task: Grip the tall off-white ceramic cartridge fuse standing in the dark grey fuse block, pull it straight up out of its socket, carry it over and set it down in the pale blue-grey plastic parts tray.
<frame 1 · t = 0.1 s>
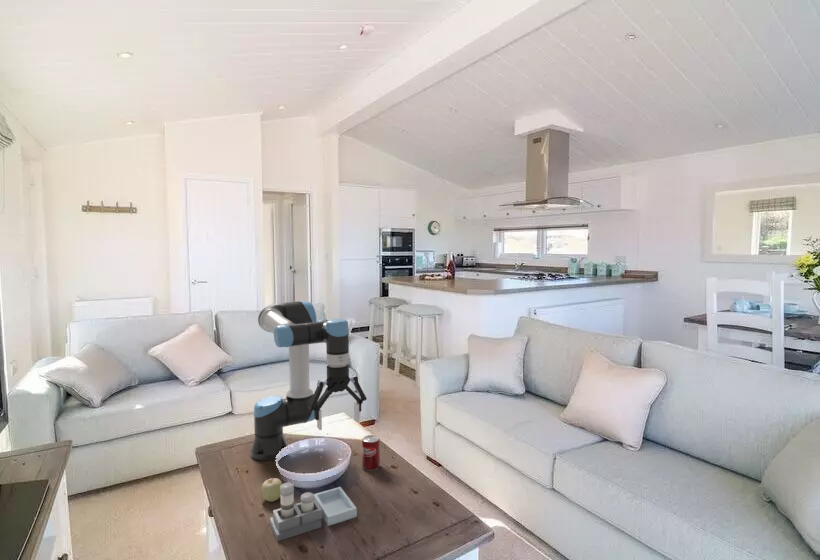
hand: (338, 424, 157), 28 cm above the table, fingers open, 13 cm apart
soda can: (371, 467, 183), on the table
fuse: (287, 521, 145), point 2 cm above the table, touching fuse block
tray: (334, 509, 155), on the table
fuse block: (295, 525, 146), on the table
fruit: (272, 499, 161), on the table
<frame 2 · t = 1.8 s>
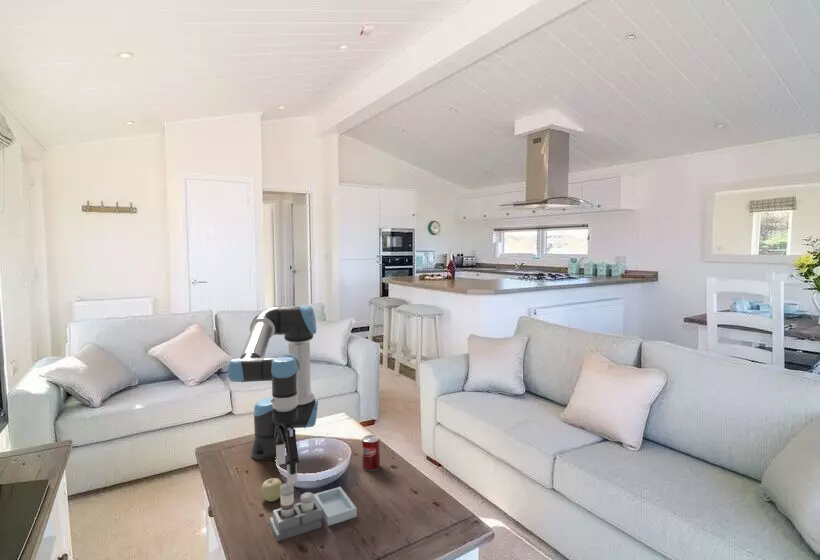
hand: (286, 473, 143), 18 cm above the table, fingers open, 13 cm apart
nothing on the table moved.
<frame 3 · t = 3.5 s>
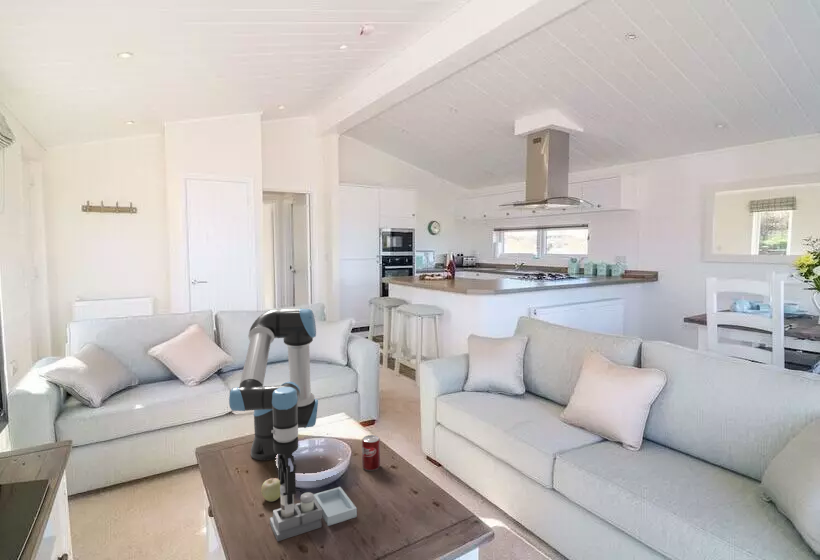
hand: (287, 508, 144), 7 cm above the table, fingers closed on fuse, 4 cm apart
fuse: (287, 521, 145), point 2 cm above the table, touching fuse block, gripper
everything else where it was.
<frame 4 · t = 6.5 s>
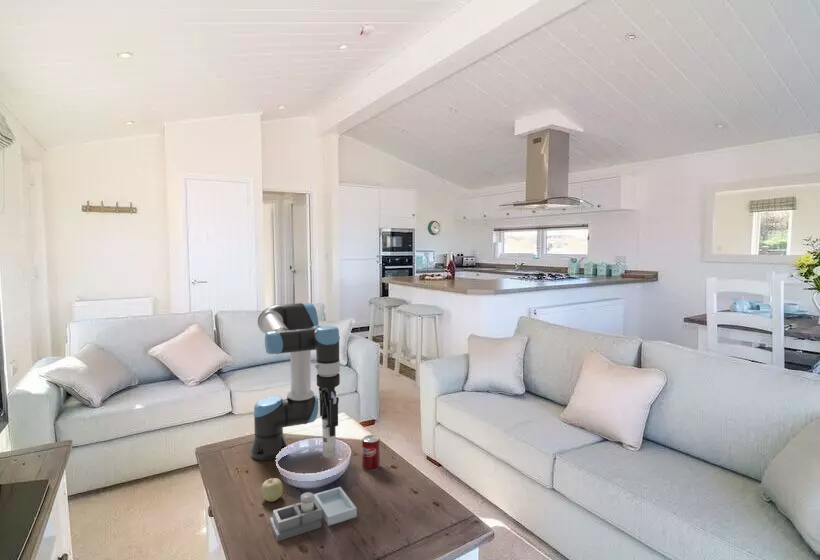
hand: (329, 441, 151), 25 cm above the table, fingers closed on fuse, 4 cm apart
fuse: (329, 454, 152), point 20 cm above the table, touching gripper
everything else where it was.
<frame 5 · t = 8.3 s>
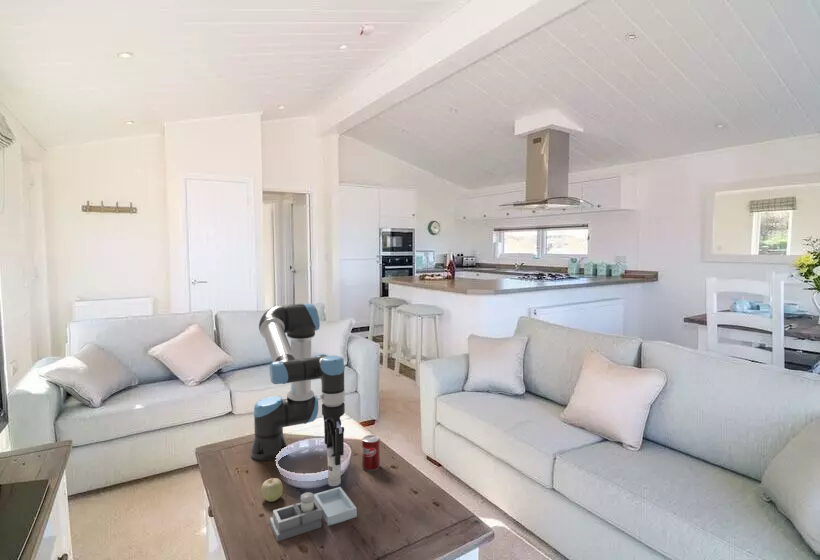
hand: (334, 469, 153), 14 cm above the table, fingers closed on fuse, 4 cm apart
fuse: (334, 482, 154), point 10 cm above the table, touching gripper
everything else where it was.
when the fingers open (7 cm above the table, at t = 9.7 s): fuse drops 1 cm, resting on tray.
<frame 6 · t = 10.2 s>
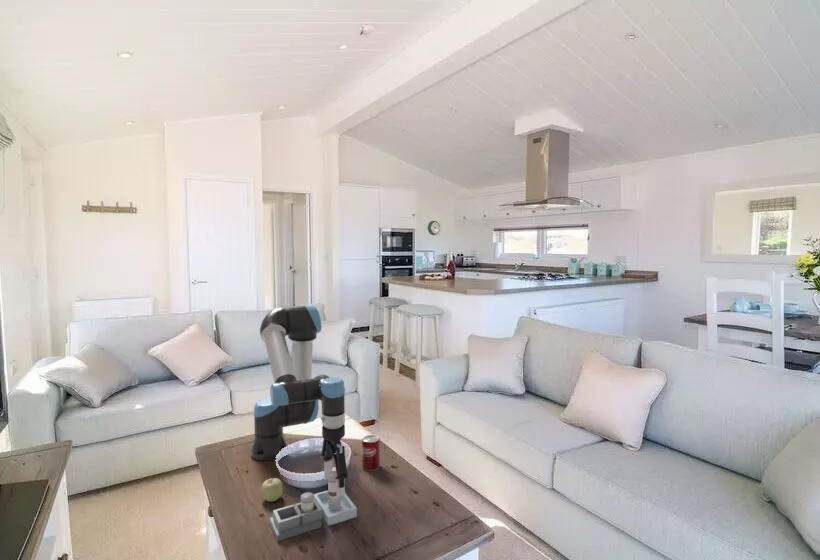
hand: (334, 486, 154), 8 cm above the table, fingers open, 11 cm apart
fuse: (334, 507, 155), point 1 cm above the table, touching tray
everything else where it was.
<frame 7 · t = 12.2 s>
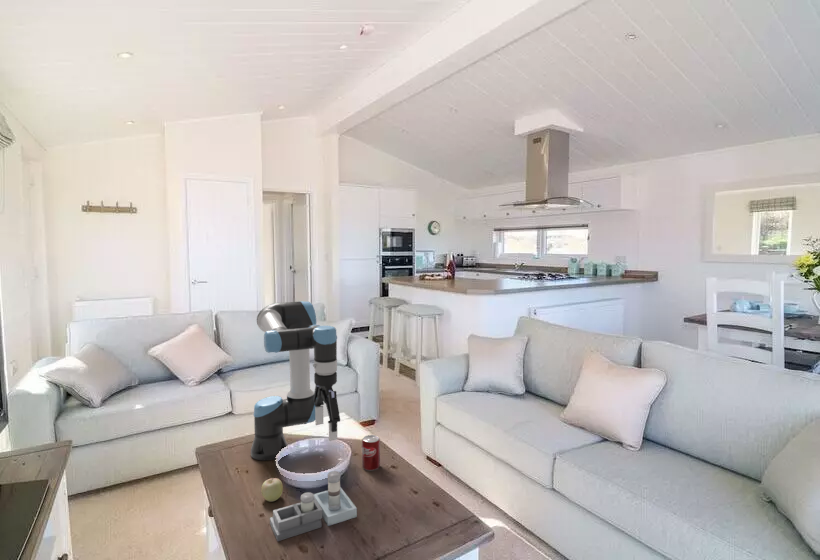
hand: (326, 431, 156), 26 cm above the table, fingers open, 13 cm apart
nothing on the table moved.
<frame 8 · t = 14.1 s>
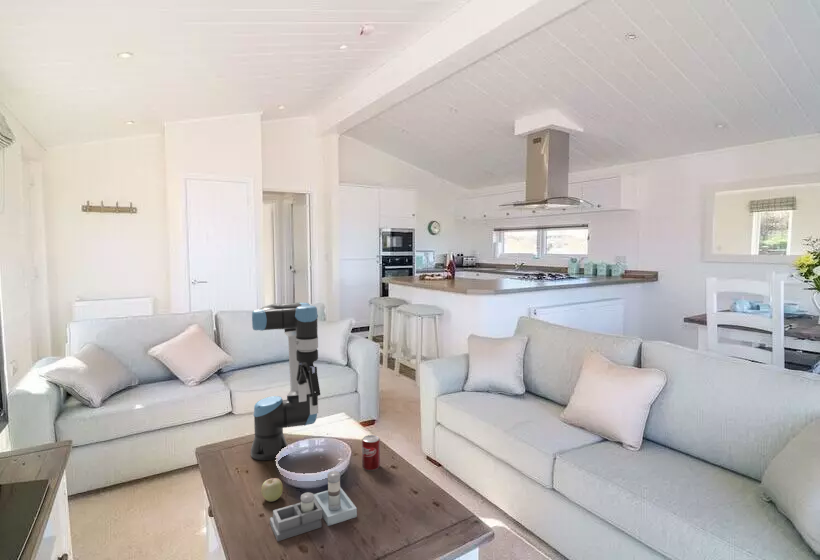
hand: (308, 407, 163), 32 cm above the table, fingers open, 13 cm apart
nothing on the table moved.
at the end: fuse inside the target area on the tray (0.0 cm from its centre), point 0.6 cm above the tray's base; the gripper is holding nothing; fuse touching tray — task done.
